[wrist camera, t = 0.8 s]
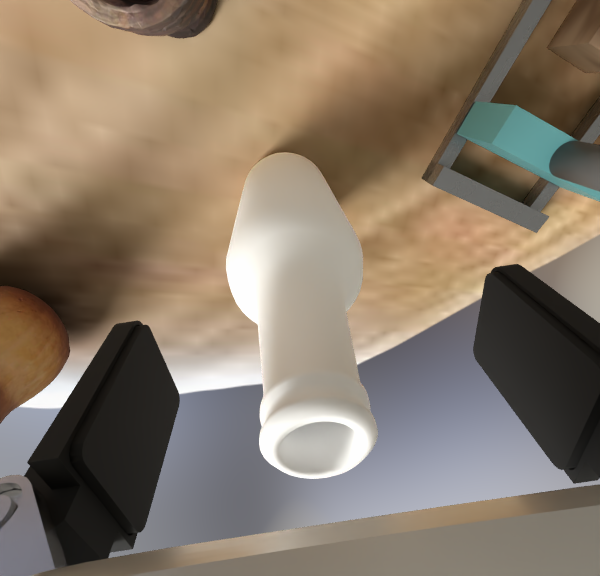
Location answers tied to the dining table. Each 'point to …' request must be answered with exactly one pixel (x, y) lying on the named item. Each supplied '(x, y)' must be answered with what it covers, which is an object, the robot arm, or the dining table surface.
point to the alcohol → (302, 316)
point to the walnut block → (580, 36)
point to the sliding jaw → (535, 146)
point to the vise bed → (483, 91)
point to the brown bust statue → (152, 15)
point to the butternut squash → (28, 347)
